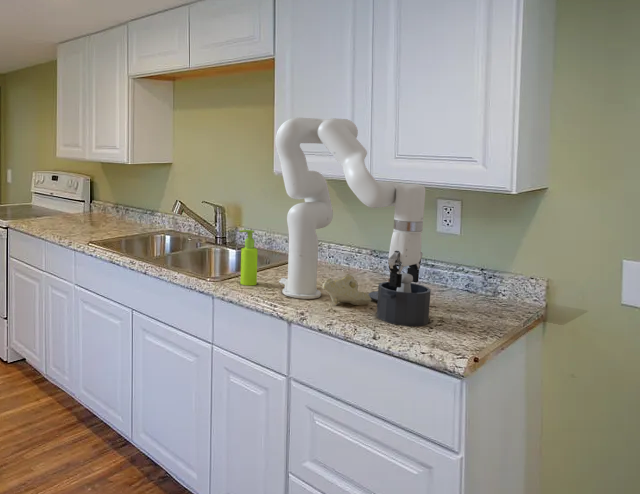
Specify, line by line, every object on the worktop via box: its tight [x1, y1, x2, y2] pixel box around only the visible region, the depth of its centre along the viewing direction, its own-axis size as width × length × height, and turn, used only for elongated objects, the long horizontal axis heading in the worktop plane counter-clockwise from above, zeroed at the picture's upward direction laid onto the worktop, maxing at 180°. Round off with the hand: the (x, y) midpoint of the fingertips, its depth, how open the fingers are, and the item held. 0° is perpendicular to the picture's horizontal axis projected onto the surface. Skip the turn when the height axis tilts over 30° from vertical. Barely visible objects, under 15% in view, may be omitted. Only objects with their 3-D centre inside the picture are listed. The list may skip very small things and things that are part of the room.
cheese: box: [321, 273, 372, 306], centre depth 177 cm, size 15×7×15 cm
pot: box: [376, 281, 432, 327], centre depth 162 cm, size 14×19×10 cm
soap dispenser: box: [238, 229, 259, 287], centre depth 202 cm, size 6×7×20 cm
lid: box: [367, 277, 390, 303], centre depth 181 cm, size 15×15×7 cm
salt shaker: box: [396, 272, 413, 293], centre depth 162 cm, size 6×6×13 cm
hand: (403, 284), depth 161 cm, fingers open, 9 cm apart
